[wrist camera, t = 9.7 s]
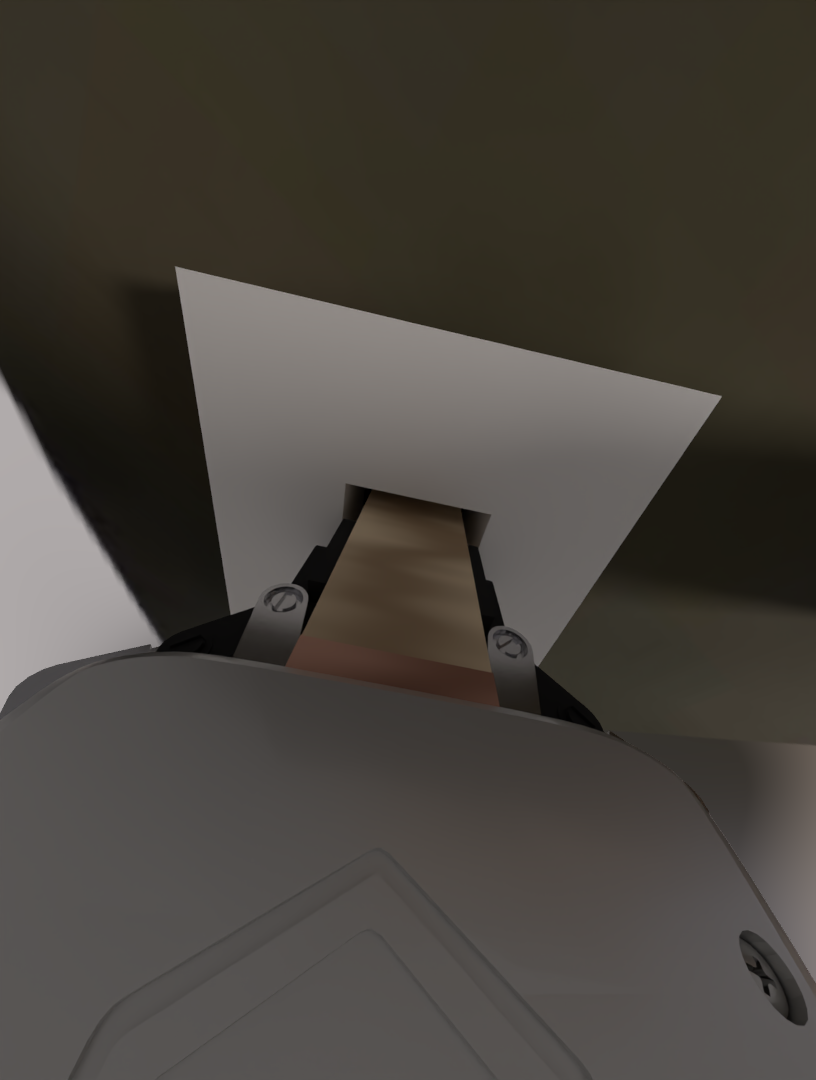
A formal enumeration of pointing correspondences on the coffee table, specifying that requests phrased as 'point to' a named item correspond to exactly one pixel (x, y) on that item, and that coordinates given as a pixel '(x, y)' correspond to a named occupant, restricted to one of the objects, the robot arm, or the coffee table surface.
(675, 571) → the coffee table surface
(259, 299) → the socket block
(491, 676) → the maple peg
